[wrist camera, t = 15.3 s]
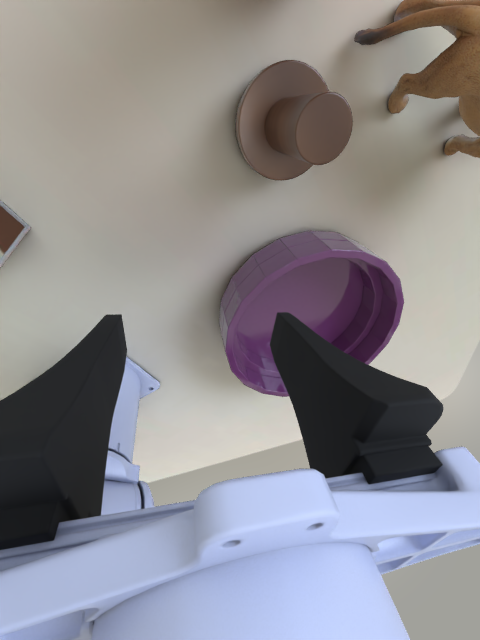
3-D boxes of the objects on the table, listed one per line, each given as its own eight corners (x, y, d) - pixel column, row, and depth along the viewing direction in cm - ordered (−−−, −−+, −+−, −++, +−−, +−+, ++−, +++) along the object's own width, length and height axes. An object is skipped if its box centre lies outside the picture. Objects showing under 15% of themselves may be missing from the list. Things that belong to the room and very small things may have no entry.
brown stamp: (256, 191, 20) (291, 222, 14) (214, 103, 16) (236, 98, 11) (328, 144, 19) (395, 157, 13) (299, 41, 15) (372, -1, 10)
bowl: (262, 383, 32) (273, 416, 29) (184, 291, 23) (187, 323, 20) (384, 319, 30) (412, 347, 26) (351, 189, 21) (387, 205, 17)
